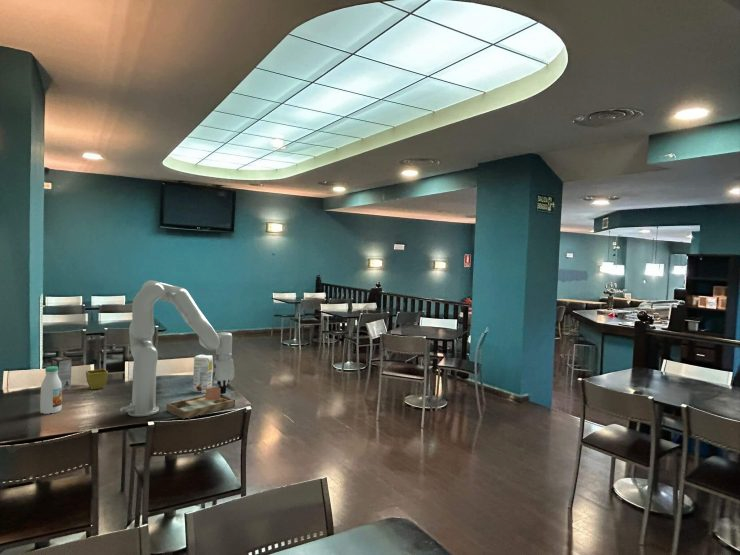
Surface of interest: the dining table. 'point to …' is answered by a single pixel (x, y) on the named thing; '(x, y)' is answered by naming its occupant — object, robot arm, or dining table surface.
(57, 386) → the milk bottle
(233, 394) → the dining table surface
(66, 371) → the coffee box
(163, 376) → the dining table surface
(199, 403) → the tray
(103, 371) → the flower pot
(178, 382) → the dining table surface
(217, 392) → the block
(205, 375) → the juice carton
